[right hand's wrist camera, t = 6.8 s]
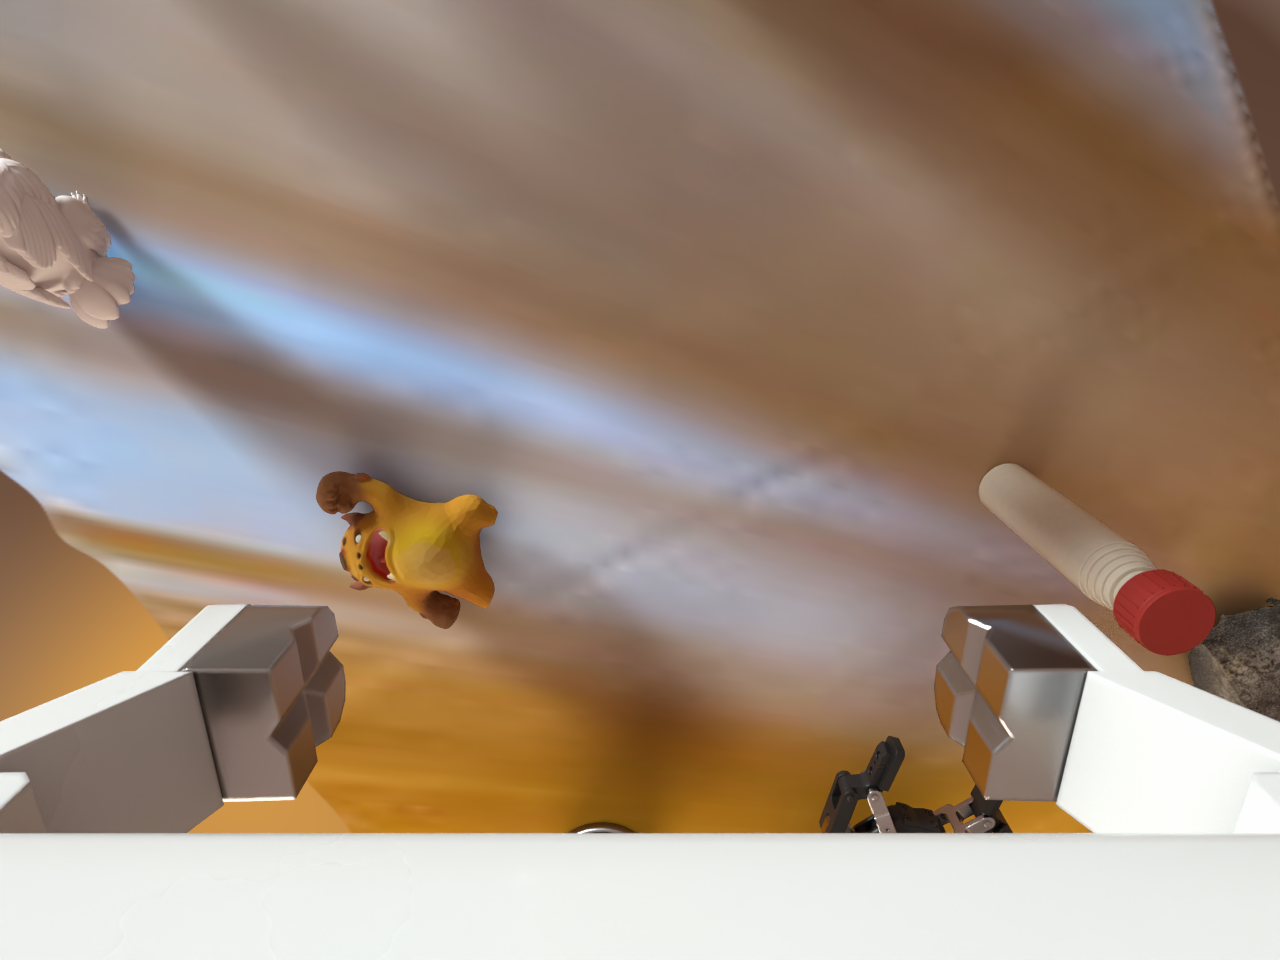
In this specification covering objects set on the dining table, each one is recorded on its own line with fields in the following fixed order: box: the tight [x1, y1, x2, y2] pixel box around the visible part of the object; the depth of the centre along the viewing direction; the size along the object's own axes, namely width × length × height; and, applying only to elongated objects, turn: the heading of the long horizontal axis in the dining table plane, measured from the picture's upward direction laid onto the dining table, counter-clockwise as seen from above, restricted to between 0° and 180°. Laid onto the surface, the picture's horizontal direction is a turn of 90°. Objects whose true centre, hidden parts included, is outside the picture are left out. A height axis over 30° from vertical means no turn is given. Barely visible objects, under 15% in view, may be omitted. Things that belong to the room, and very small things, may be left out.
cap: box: [1113, 569, 1216, 655], centre depth 42 cm, size 4×4×2 cm
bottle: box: [979, 463, 1158, 610], centre depth 51 cm, size 4×4×20 cm
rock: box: [1188, 598, 1280, 722], centre depth 63 cm, size 13×9×6 cm, turn 27°
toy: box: [316, 472, 498, 629], centre depth 59 cm, size 11×6×15 cm
